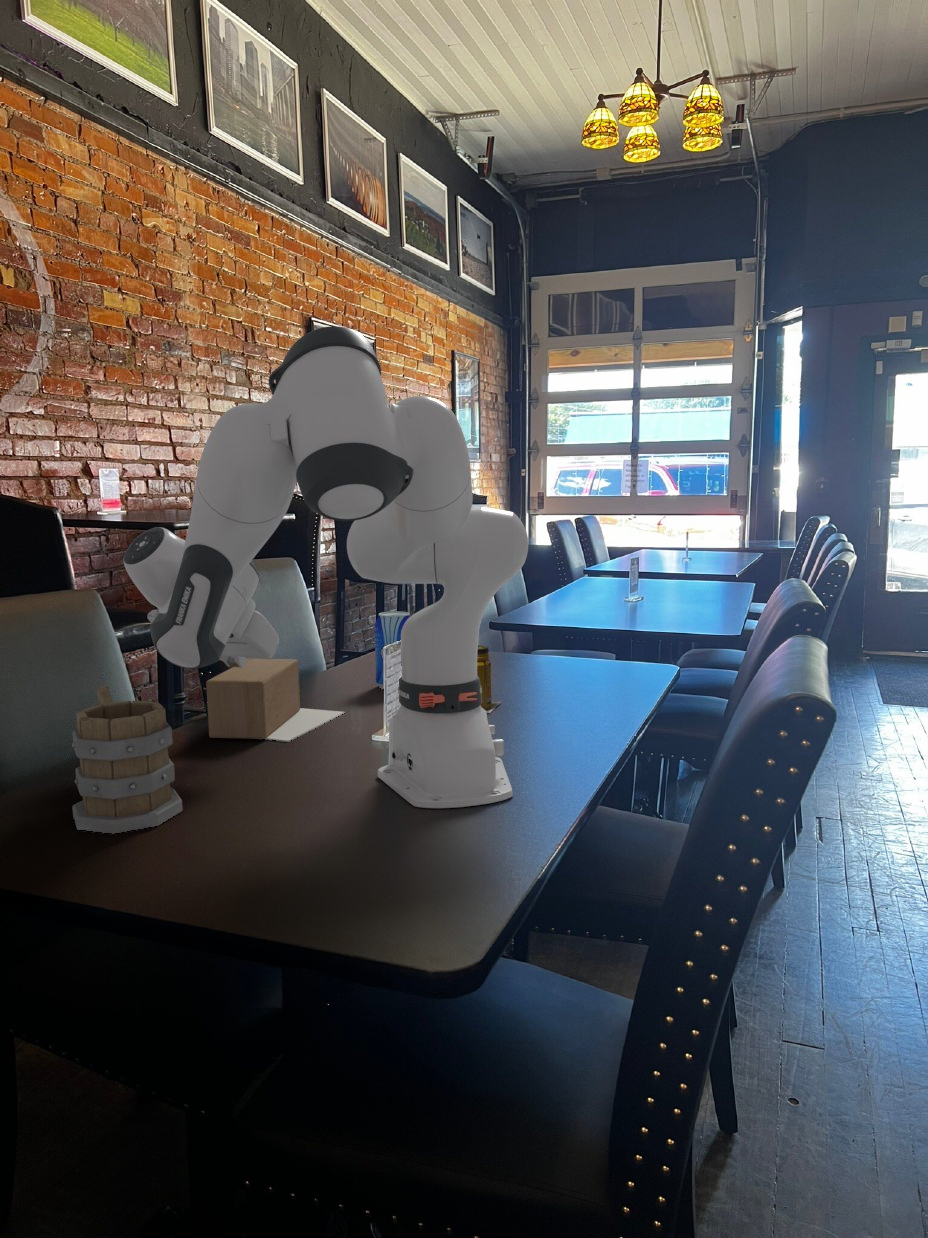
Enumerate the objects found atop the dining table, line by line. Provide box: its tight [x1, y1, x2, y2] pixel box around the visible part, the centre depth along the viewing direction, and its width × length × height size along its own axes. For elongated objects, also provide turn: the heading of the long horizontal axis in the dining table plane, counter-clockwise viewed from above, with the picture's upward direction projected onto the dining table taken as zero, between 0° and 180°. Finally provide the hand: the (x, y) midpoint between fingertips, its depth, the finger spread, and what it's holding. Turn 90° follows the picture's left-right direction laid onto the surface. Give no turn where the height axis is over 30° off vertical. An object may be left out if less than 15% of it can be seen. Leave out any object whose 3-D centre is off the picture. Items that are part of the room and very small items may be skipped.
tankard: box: [71, 685, 184, 835], centre depth 113 cm, size 20×13×15 cm, turn 30°
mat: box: [264, 707, 346, 743], centre depth 154 cm, size 20×15×1 cm
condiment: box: [477, 644, 502, 714], centre depth 164 cm, size 7×8×12 cm
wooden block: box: [205, 658, 301, 740], centre depth 153 cm, size 10×10×20 cm
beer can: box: [374, 610, 411, 691], centre depth 182 cm, size 8×8×16 cm
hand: (238, 663), depth 141 cm, fingers closed
